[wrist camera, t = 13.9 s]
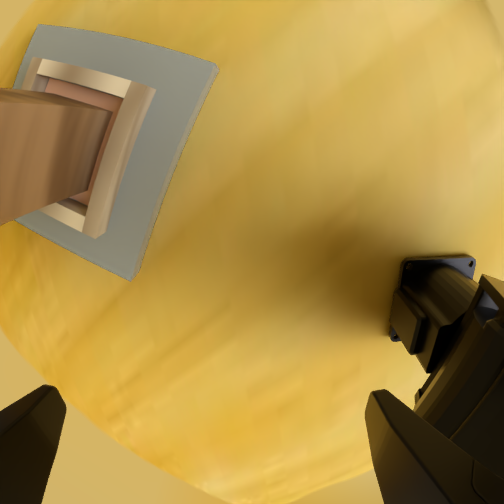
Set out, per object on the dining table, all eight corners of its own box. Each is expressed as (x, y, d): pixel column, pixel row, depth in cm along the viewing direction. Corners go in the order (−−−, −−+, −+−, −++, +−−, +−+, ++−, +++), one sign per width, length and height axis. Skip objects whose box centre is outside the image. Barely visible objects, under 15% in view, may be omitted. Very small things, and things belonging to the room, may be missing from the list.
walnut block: (113, 111, 16) (-15, 102, 6) (87, 190, 17) (-35, 242, 8) (53, 93, 15) (-70, 86, 6) (32, 165, 17) (-85, 198, 7)
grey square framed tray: (219, 69, 16) (211, 56, 13) (138, 272, 21) (121, 292, 18) (49, 28, 15) (26, 19, 12) (-1, 199, 19) (-25, 208, 16)
